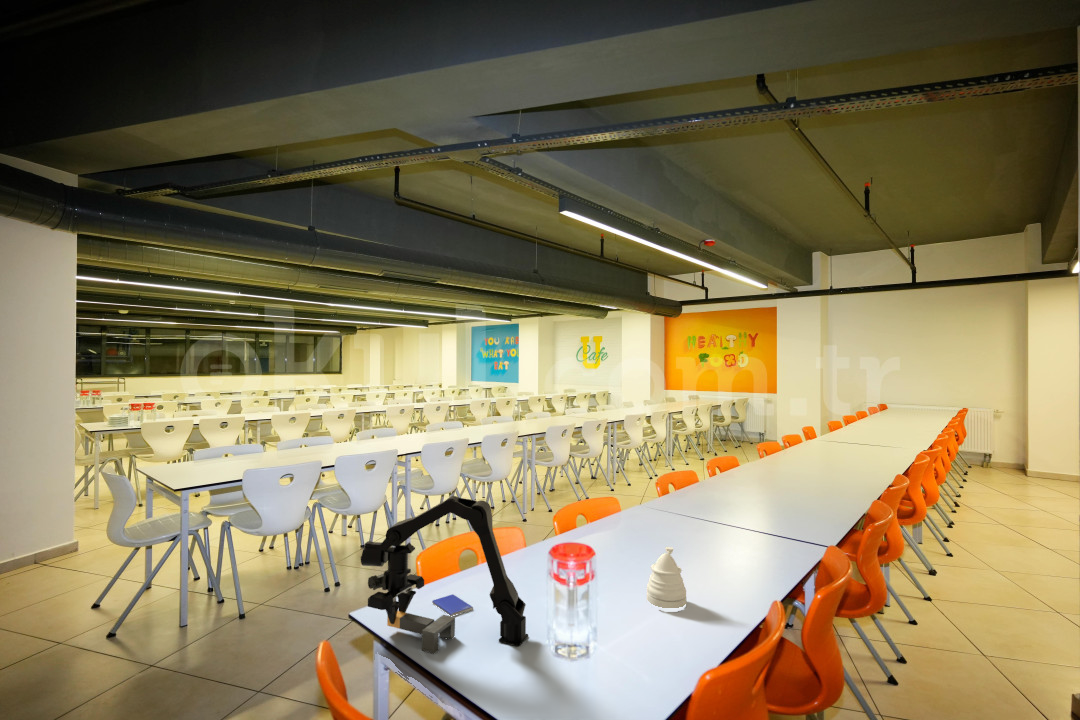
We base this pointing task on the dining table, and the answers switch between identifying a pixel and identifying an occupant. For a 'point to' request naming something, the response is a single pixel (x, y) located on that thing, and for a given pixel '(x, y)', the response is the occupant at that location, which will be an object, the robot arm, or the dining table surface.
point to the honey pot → (666, 583)
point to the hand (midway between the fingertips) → (396, 620)
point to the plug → (410, 622)
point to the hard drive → (452, 605)
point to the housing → (437, 633)
